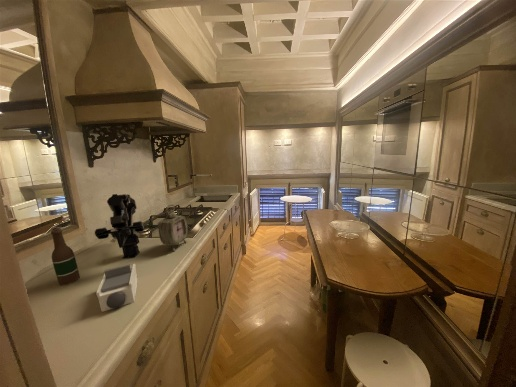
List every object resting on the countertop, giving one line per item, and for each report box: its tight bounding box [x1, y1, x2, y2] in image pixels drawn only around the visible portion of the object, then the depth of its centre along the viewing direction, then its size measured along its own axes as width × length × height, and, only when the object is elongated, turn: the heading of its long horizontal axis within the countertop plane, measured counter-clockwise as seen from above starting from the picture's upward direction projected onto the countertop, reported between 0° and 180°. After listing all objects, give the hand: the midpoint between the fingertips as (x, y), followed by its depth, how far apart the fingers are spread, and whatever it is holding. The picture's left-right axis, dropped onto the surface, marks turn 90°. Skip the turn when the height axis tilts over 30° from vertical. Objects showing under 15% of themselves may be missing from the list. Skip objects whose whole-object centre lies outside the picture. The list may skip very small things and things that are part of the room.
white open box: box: [95, 263, 138, 312], centre depth 82 cm, size 17×10×8 cm, turn 25°
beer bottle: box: [50, 228, 81, 286], centre depth 93 cm, size 8×8×24 cm
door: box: [102, 263, 132, 292], centre depth 80 cm, size 9×8×4 cm
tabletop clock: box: [157, 204, 189, 252], centre depth 120 cm, size 14×9×25 cm, turn 164°
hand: (121, 246), depth 95 cm, fingers closed
